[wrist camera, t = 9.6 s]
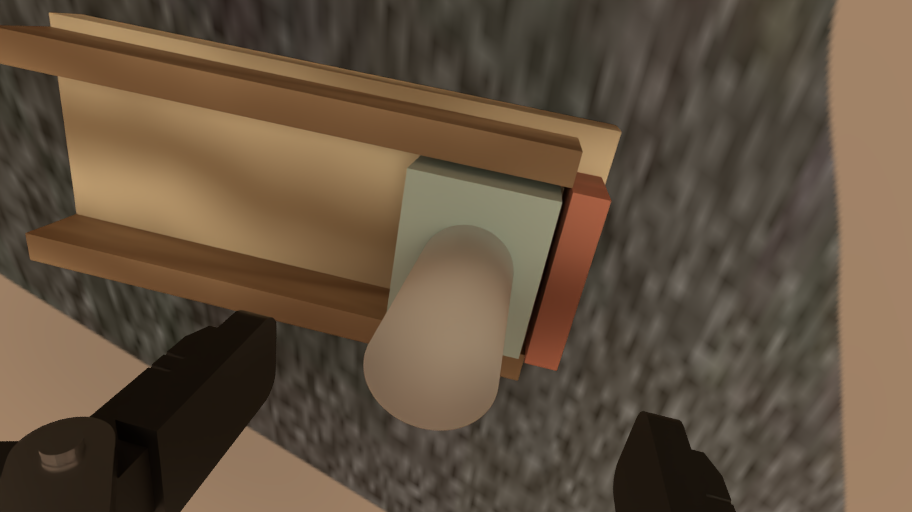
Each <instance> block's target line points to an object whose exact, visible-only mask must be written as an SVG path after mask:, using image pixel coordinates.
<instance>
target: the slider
mask: <svg viewBox="0 0 912 512" xmlns="http://www.w3.org/2000/svg"><path fill="white" fill-rule="evenodd" d="M561 205H562V195H561V186H560V185H555V184H550V183H546V182H541V181H537V180H532V179H527V178H523V177H518V176H514V175H509V174H505V173H500V172H495V171H491V170H486V169H482V168H477V167H472V166H468V165H463V164H459V163H454V162H450V161H445V160H440V159H436V158H431V157H427V156H422V155H421V156H419V157H418V158H417V159H416V160H415V161H414V162H413V163H412V164H411V165H410V166H409V167H408V168H407V172H406V179H405V186H404V193H403V200H402V207H401V214H400V221H399V228H398V235H397V242H396V250H395V257H394V264H393V271H392V278H391V285H390V292H389V299H388V306H387V313H386V315H385V316H384V318H383V320H382V321H381V323H380V325H379V327H378V328H377V330H376V332H375V334H374V335H373V337H372V339H371V340H370V342H369V344H368V346H367V349H366V351H365V355H364V363H363V368H364V375H365V379H366V382H367V385H368V387H369V389H370V391H371V393H372V395H373V396H374V398H375V399H376V400H377V402H378V403H379V404H380V405H381V406H382V407H383V408H384V409H385V410H386V411H388V412H389V413H390V414H391V415H393V416H394V417H396V418H397V419H399V420H401V421H403V422H405V423H407V424H410V425H412V426H415V427H418V428H423V429H428V430H453V429H457V428H461V427H464V426H467V425H469V424H471V423H473V422H475V421H476V420H478V419H479V418H481V417H482V416H483V415H484V414H485V413H486V412H487V411H488V410H489V408H490V407H491V406H492V404H493V402H494V400H495V398H496V395H497V391H498V386H499V379H500V371H501V364H502V356H503V355H504V356H508V357H512V358H516V359H519V356H520V352H521V348H522V345H523V341H524V338H525V334H526V330H527V327H528V323H529V320H530V316H531V313H532V309H533V305H534V302H535V298H536V295H537V291H538V288H539V284H540V280H541V277H542V273H543V270H544V266H545V262H546V259H547V255H548V252H549V248H550V245H551V241H552V237H553V234H554V230H555V227H556V223H557V219H558V216H559V212H560V209H561Z"/></svg>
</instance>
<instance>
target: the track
mask: <svg viewBox="0 0 912 512" xmlns="http://www.w3.org/2000/svg"><path fill="white" fill-rule="evenodd" d="M49 17H50V24H51V27H44V26H1V25H0V64H5V65H9V66H14V67H19V68H23V69H28V70H32V71H37V72H42V73H46V74H51V75H55V76H58V82H59V89H60V96H61V104H62V111H63V118H64V125H65V132H66V140H67V147H68V154H69V161H70V168H71V176H72V183H73V190H74V197H75V204H76V212H77V214H75V215H73V216H70V217H67V218H65V219H62V220H59V221H57V222H54V223H51V224H49V225H46V226H43V227H41V228H38V229H36V230H33V231H30V232H28V233H25V234H26V239H27V244H28V250H29V255H30V260H34V261H38V262H42V263H46V264H50V265H54V266H58V267H62V268H66V269H70V270H74V271H78V272H82V273H86V274H90V275H94V276H98V277H102V278H106V279H110V280H114V281H118V282H122V283H126V284H130V285H134V286H138V287H142V288H146V289H150V290H155V291H159V292H163V293H167V294H171V295H175V296H179V297H183V298H187V299H191V300H195V301H199V302H203V303H207V304H211V305H215V306H219V307H223V308H227V309H231V310H235V311H238V310H244V311H249V312H253V313H257V314H261V315H265V316H269V317H273V318H274V319H275V321H279V322H284V323H288V324H292V325H296V326H300V327H304V328H308V329H312V330H316V331H320V332H324V333H328V334H332V335H336V336H340V337H344V338H348V339H352V340H356V341H360V342H364V343H368V344H369V342H370V340H371V339H372V337H373V335H374V334H375V332H376V330H377V328H378V327H379V325H380V323H381V321H382V320H383V318H384V316H385V315H386V313H387V306H388V299H389V292H390V285H391V278H392V271H393V264H394V257H395V250H396V242H397V235H398V228H399V221H400V214H401V207H402V200H403V193H404V186H405V179H406V172H407V168H408V167H409V166H410V165H411V164H412V163H413V162H414V161H415V160H416V159H417V158H418V157H419V156H421V155H422V156H427V157H431V158H436V159H440V160H445V161H450V162H454V163H459V164H463V165H468V166H472V167H477V168H482V169H486V170H491V171H495V172H500V173H505V174H509V175H514V176H518V177H523V178H527V179H532V180H537V181H541V182H546V183H550V184H555V185H560V186H561V195H562V205H561V209H560V212H559V216H558V219H557V223H556V227H555V230H554V234H553V237H552V241H551V245H550V248H549V252H548V255H547V259H546V262H545V266H544V270H543V273H542V277H541V280H540V284H539V288H538V291H537V295H536V298H535V302H534V305H533V309H532V313H531V316H530V320H529V323H528V327H527V330H526V334H525V338H524V341H523V345H522V348H521V352H520V356H519V359H516V358H512V357H508V356H504V355H503V356H502V364H501V371H500V376H501V377H505V378H509V379H513V380H517V381H518V378H519V374H520V371H521V367H522V364H523V360H524V357H525V362H524V363H527V364H531V365H535V366H539V367H543V368H547V369H551V370H555V371H557V369H558V365H559V362H560V359H561V356H562V353H563V350H564V347H565V344H566V340H567V337H568V334H569V331H570V328H571V325H572V322H573V319H574V316H575V312H576V309H577V306H578V303H579V300H580V297H581V294H582V291H583V288H584V284H585V281H586V278H587V275H588V272H589V269H590V266H591V263H592V259H593V256H594V253H595V250H596V247H597V244H598V241H599V238H600V235H601V231H602V228H603V225H604V222H605V219H606V216H607V213H608V210H609V206H610V203H611V199H610V196H609V194H608V192H607V189H606V187H605V183H606V180H607V177H608V174H609V171H610V167H611V164H612V161H613V158H614V154H615V151H616V148H617V145H618V142H619V138H620V135H621V131H620V129H619V128H618V127H617V126H616V125H612V124H607V123H603V122H598V121H593V120H588V119H583V118H578V117H574V116H569V115H564V114H559V113H554V112H550V111H545V110H540V109H535V108H530V107H526V106H521V105H516V104H511V103H506V102H501V101H497V100H492V99H487V98H482V97H477V96H473V95H468V94H463V93H458V92H453V91H448V90H444V89H439V88H434V87H429V86H424V85H420V84H415V83H410V82H405V81H400V80H396V79H391V78H386V77H381V76H376V75H371V74H367V73H362V72H357V71H352V70H347V69H343V68H338V67H333V66H328V65H323V64H318V63H314V62H309V61H304V60H299V59H294V58H290V57H285V56H280V55H275V54H270V53H266V52H261V51H256V50H251V49H246V48H241V47H237V46H232V45H227V44H222V43H217V42H213V41H208V40H203V39H198V38H193V37H188V36H184V35H179V34H174V33H169V32H164V31H160V30H155V29H150V28H145V27H140V26H136V25H131V24H126V23H121V22H116V21H111V20H107V19H102V18H97V17H92V16H87V15H83V14H67V13H49Z"/></svg>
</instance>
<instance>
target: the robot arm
mask: <svg viewBox="0 0 912 512" xmlns="http://www.w3.org/2000/svg"><path fill="white" fill-rule="evenodd" d="M275 370H276V321H275V319H274V318H273V317H269V316H265V315H261V314H257V313H253V312H249V311H244V310H238V311H236V312H235V313H234V314H233V315H231V316H230V317H229V318H228V319H227V320H226V321H225V322H224V323H223V324H221V325H220V326H219V327H218V328H216V327H212V326H208V327H206V328H204V329H201V330H199V331H197V332H194V333H192V334H190V335H188V336H185V337H184V338H183V339H182V340H180V341H179V342H178V343H177V344H176V345H175V346H173V347H172V348H171V349H170V350H169V351H167V354H166V355H163V356H161V357H160V358H159V359H158V360H157V361H156V362H154V363H153V364H152V367H151V368H147V369H146V370H145V371H144V372H142V373H141V374H140V375H139V376H138V377H137V378H135V379H134V380H133V381H132V382H131V383H129V384H128V385H127V386H126V387H125V388H123V389H122V390H121V391H120V392H119V393H118V394H116V395H115V396H114V397H113V398H112V399H110V400H109V401H108V402H107V403H106V404H104V405H103V406H102V407H101V408H100V409H98V410H97V411H96V412H95V413H94V414H93V415H91V416H90V417H73V418H67V419H62V420H58V421H55V422H52V423H49V424H47V425H44V426H42V427H40V428H38V429H36V430H34V431H32V432H31V433H29V434H28V435H26V436H25V437H24V438H22V439H21V440H20V441H9V442H8V441H6V442H5V441H2V442H1V441H0V512H181V510H182V509H183V508H184V506H185V505H186V503H187V502H188V501H189V500H190V498H191V497H192V496H193V494H194V493H195V492H196V491H197V489H198V488H199V487H200V486H201V484H202V483H203V482H204V480H205V479H206V478H207V476H208V475H209V474H210V472H211V471H212V470H213V469H214V467H215V466H216V465H217V463H218V462H219V461H220V459H221V458H222V457H223V456H224V454H225V453H226V452H227V450H228V449H229V448H230V446H231V445H232V444H233V443H234V441H235V440H236V439H237V437H238V436H239V435H240V434H241V432H242V431H243V430H244V428H245V427H246V426H247V424H248V423H249V422H250V420H251V419H252V418H253V417H254V415H255V414H256V413H257V411H258V410H259V409H260V407H261V406H262V405H263V404H264V402H265V401H266V399H267V398H268V396H269V394H270V391H271V389H272V386H273V383H274V379H275ZM613 495H614V503H615V511H616V512H736V511H735V509H734V506H733V505H732V504H731V498H730V495H729V493H728V490H727V487H726V485H725V482H724V480H723V477H722V475H721V474H720V473H719V471H718V470H717V469H716V467H715V466H714V465H713V464H712V462H711V461H710V460H709V459H708V457H707V456H706V455H705V454H704V453H703V452H699V451H695V450H692V449H691V447H690V444H689V441H688V438H687V435H686V432H685V429H684V426H683V424H682V422H681V421H680V420H677V419H673V418H669V417H665V416H661V415H657V414H653V413H649V412H645V411H642V412H640V414H639V415H638V416H637V418H636V421H635V423H634V425H633V428H632V430H631V432H630V435H629V437H628V439H627V442H626V444H625V446H624V449H623V451H622V454H621V456H620V458H619V461H618V463H617V466H616V470H615V475H614V483H613Z"/></svg>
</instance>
